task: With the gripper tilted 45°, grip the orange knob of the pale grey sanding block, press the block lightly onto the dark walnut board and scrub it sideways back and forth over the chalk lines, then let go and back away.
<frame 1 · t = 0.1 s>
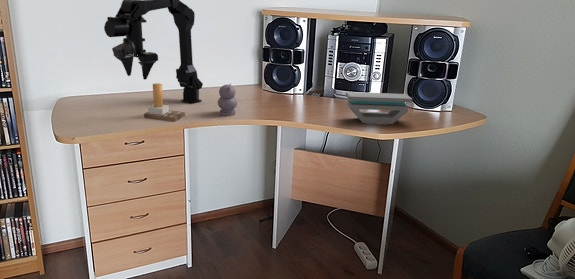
hand: (136, 77, 165), 15 cm above the table, fingers open, 9 cm apart
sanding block: (158, 112, 169), point 2 cm above the table, touching walnut board
grey stacked rounded piece: (227, 114, 177), on the table
walnut board: (164, 116, 169), on the table
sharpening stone: (375, 121, 178), on the table
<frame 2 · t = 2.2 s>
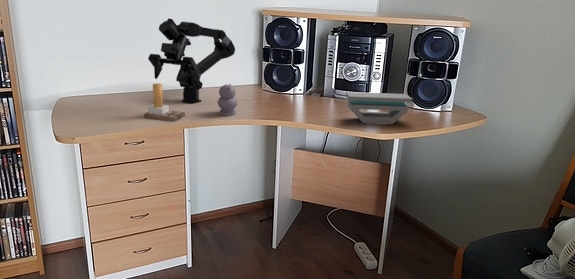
hand: (166, 79, 171), 13 cm above the table, fingers open, 9 cm apart
nothing on the table moved.
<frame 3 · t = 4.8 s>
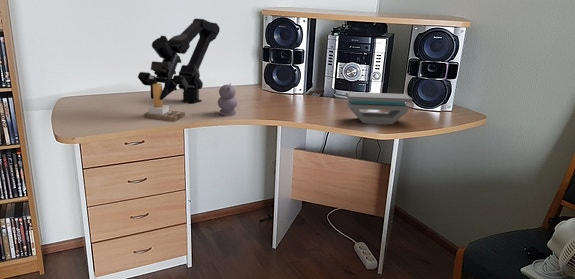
hand: (156, 99, 165), 7 cm above the table, fingers closed on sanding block, 3 cm apart
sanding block: (158, 112, 169), point 2 cm above the table, touching gripper, walnut board
everything else where it was.
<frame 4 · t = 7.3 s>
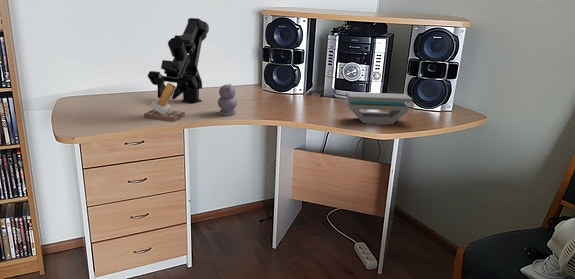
hand: (165, 98, 164), 8 cm above the table, fingers closed on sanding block, 5 cm apart
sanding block: (159, 108, 168), point 3 cm above the table, tilted 30°, touching gripper, walnut board
everything else where it was.
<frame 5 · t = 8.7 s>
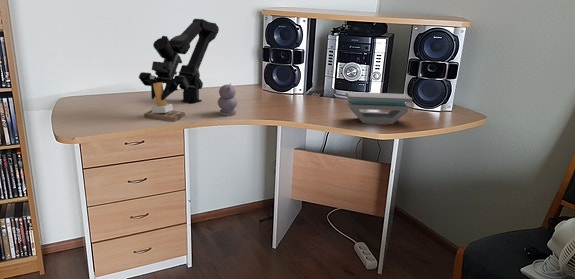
hand: (157, 99, 165), 7 cm above the table, fingers closed on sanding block, 4 cm apart
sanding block: (162, 111, 169), point 2 cm above the table, tilted 8°, touching gripper, walnut board
everything else where it was.
when the fingers open (7 cm above the table, at t = 10.7 s): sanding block stays where it is, resting on walnut board.
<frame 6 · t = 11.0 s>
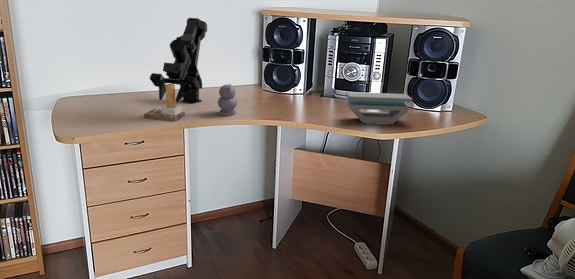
hand: (168, 100, 164), 7 cm above the table, fingers open, 6 cm apart
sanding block: (171, 113, 169), point 2 cm above the table, touching walnut board
everything else where it was.
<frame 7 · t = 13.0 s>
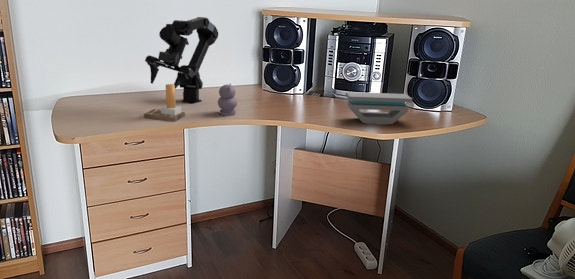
hand: (162, 86, 172), 10 cm above the table, fingers open, 9 cm apart
nothing on the table moved.
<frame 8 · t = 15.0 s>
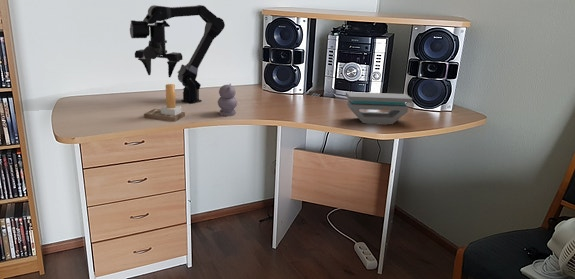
hand: (159, 76, 181), 12 cm above the table, fingers open, 9 cm apart
nothing on the table moved.
at the end: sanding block inside the target area on the walnut board (2.1 cm from its centre), point 1.5 cm above the walnut board's base; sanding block moved 4.9 cm from its start; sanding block tilted 0° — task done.
